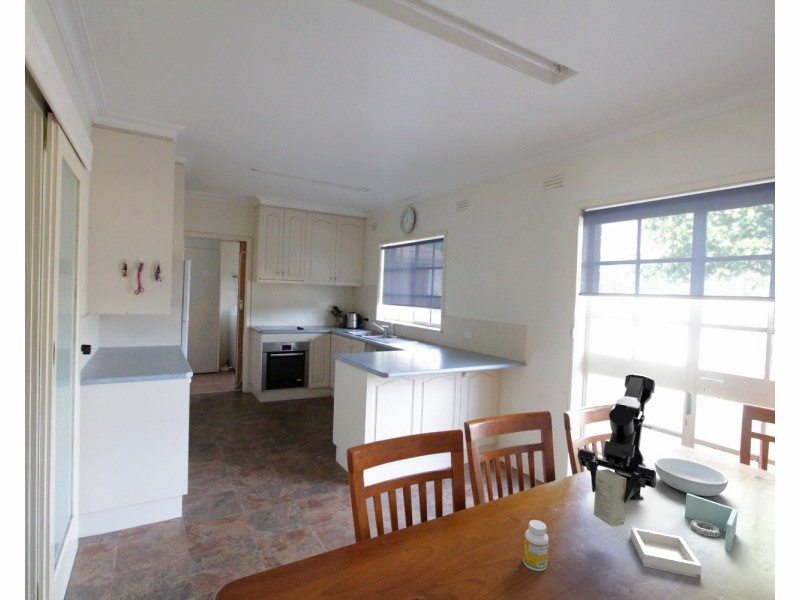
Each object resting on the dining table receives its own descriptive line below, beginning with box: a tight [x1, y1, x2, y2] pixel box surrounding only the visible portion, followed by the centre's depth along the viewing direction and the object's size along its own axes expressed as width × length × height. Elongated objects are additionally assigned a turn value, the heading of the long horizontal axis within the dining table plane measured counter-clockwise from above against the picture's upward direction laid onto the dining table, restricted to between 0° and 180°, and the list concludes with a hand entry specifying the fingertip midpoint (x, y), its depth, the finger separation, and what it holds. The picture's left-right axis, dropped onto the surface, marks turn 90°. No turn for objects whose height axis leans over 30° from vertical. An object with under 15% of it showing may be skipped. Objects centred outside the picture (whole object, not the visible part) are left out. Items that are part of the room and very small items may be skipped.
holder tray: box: [629, 527, 703, 579], centre depth 105 cm, size 12×12×3 cm
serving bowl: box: [654, 457, 729, 497], centre depth 144 cm, size 21×21×7 cm
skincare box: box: [593, 468, 626, 528], centre depth 110 cm, size 6×4×12 cm
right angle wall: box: [684, 493, 738, 551], centre depth 118 cm, size 12×12×8 cm
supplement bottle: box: [522, 519, 549, 572], centre depth 99 cm, size 5×5×10 cm
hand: (608, 497), depth 109 cm, fingers closed on skincare box, 7 cm apart
